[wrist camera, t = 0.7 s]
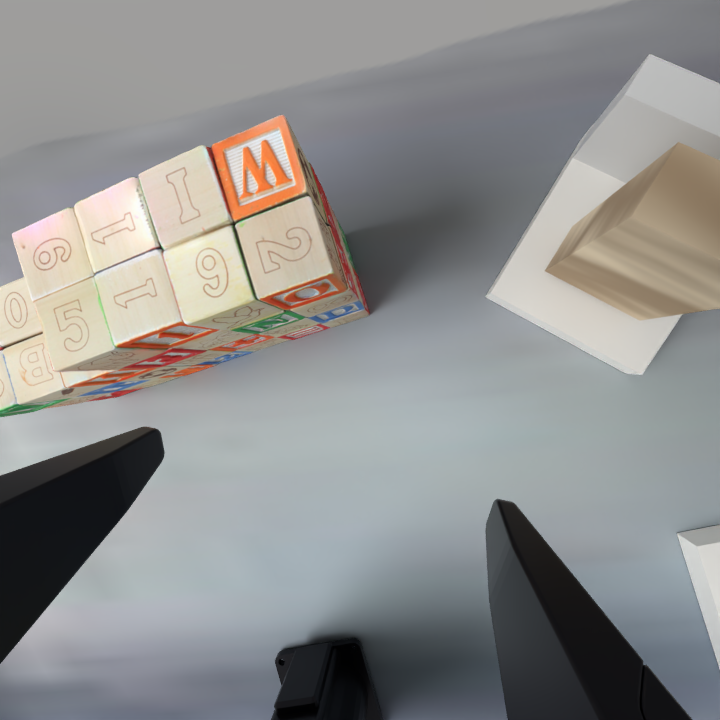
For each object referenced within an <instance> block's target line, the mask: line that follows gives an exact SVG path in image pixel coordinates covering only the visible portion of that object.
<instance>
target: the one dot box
mask: <svg viewBox="0 0 720 720" xmlns="http://www.w3.org/2000/svg"><path fill="white" fill-rule="evenodd" d="M677 536H678V539H679V542H680V545H681V548H682V551H683V555H684V558H685V561H686V564H687V567H688V570H689V574H690V577H691V580H692V583H693V586H694V589H695V592H696V596H697V599H698V602H699V605H700V608H701V611H702V615H703V618H704V621H705V624H706V627H707V630H708V634H709V637H710V640H711V643H712V646H713V649H714V653H715V656H716V659H717V662H718V665H719V668H720V525H716V526H711V527H706V528H701V529H695V530H690V531H685V532H680V533H677Z"/></svg>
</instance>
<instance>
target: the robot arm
mask: <svg viewBox="0 0 720 720" xmlns="http://www.w3.org/2000/svg"><path fill="white" fill-rule="evenodd" d="M163 458H164V447H163V442H162V437H161V433H160V431H159V430H158V429H155V428H150V427H140V428H138V429H135V430H132V431H129V432H126V433H123V434H120V435H117V436H114V437H111V438H109V439H106V440H103V441H100V442H97V443H94V444H91V445H88V446H85V447H82V448H79V449H77V450H74V451H71V452H68V453H65V454H62V455H59V456H56V457H53V458H50V459H48V460H45V461H42V462H39V463H36V464H33V465H30V466H27V467H24V468H21V469H18V470H16V471H13V472H10V473H7V474H4V475H1V476H0V664H1V662H2V661H3V660H4V659H5V658H6V656H7V655H8V654H9V653H10V652H11V650H12V649H13V648H14V647H15V646H16V644H17V643H18V642H19V641H20V640H21V638H22V637H23V636H24V635H25V634H26V632H27V631H28V630H29V629H30V628H31V626H32V625H33V624H34V623H35V622H36V620H37V619H38V618H39V617H40V616H41V614H42V613H43V612H44V611H45V610H46V608H47V607H48V606H49V605H50V604H51V602H52V601H53V600H54V599H55V598H56V596H57V595H58V594H59V593H60V592H61V590H62V589H63V588H64V587H65V586H66V584H67V583H68V582H69V581H70V579H71V578H72V577H73V576H74V575H75V573H76V572H77V571H78V570H79V569H80V567H81V566H82V565H83V564H84V563H85V561H86V560H87V559H88V558H89V557H90V555H91V554H92V553H93V552H94V551H95V549H96V548H97V547H98V546H99V545H100V543H101V542H102V541H103V540H104V539H105V537H106V536H107V535H108V534H109V533H110V531H111V530H112V529H113V528H114V527H115V525H116V524H117V523H118V522H119V521H120V519H121V518H122V517H123V516H124V514H125V513H126V512H127V511H128V509H129V508H130V507H131V505H132V504H133V502H134V501H135V500H136V498H137V497H138V495H139V494H140V492H141V491H142V489H143V488H144V487H145V485H146V484H147V482H148V481H149V479H150V478H151V477H152V475H153V474H154V472H155V471H156V469H157V468H158V466H159V465H160V464H161V462H162V460H163ZM486 550H487V569H488V589H489V602H490V609H491V616H492V622H493V629H494V635H495V641H496V648H497V654H498V661H499V667H500V673H501V680H502V686H503V692H504V699H505V705H506V711H507V718H508V720H692V719H691V717H690V716H689V715H688V714H687V713H686V711H685V710H684V709H683V708H682V707H681V706H680V704H679V703H678V702H677V701H676V700H675V698H674V697H673V696H672V695H671V694H670V692H669V691H668V690H667V689H666V688H665V686H664V685H663V684H662V683H661V682H660V680H659V679H658V678H657V677H656V675H655V674H654V673H653V672H652V671H651V669H650V668H649V667H648V666H647V665H643V660H642V659H641V657H640V656H639V655H638V654H637V652H636V651H635V650H634V649H633V648H632V646H631V645H630V644H629V643H628V641H627V640H626V639H625V638H624V637H623V635H622V634H621V633H620V632H619V630H618V629H617V628H616V627H615V626H614V624H613V623H612V622H611V621H610V619H609V618H608V617H607V616H606V615H605V613H604V612H603V611H602V610H601V608H600V607H599V606H598V605H597V604H596V602H595V601H594V600H593V599H592V597H591V596H590V595H589V594H588V593H587V591H586V590H585V589H584V588H583V586H582V585H581V584H580V583H579V581H578V580H577V579H576V578H575V577H574V575H573V574H572V573H571V572H570V570H569V569H568V568H567V567H566V566H565V564H564V563H563V562H562V561H561V559H560V558H559V557H558V556H557V555H556V553H555V552H554V551H553V550H552V548H551V547H550V546H549V545H548V544H547V542H546V541H545V540H544V539H543V537H542V536H541V535H540V534H539V533H538V531H537V530H536V529H535V528H534V526H533V525H532V524H531V523H530V522H529V520H528V519H527V518H526V517H525V515H524V514H523V513H522V512H521V511H520V509H519V508H518V507H517V506H516V505H515V504H514V503H513V502H510V501H505V500H501V499H496V500H495V501H494V503H493V505H492V508H491V511H490V514H489V517H488V520H487V523H486ZM352 646H355V647H356V649H354V648H352ZM281 659H283V660H284V661H283V660H281ZM275 664H276V667H277V671H278V674H279V678H280V682H281V685H282V686H281V689H280V692H279V694H278V697H277V699H276V702H275V705H274V707H275V710H274V713H273V716H272V718H271V720H383V718H382V714H381V711H380V707H379V704H378V700H377V697H376V693H375V690H374V686H373V683H372V679H371V676H370V672H369V669H368V665H367V662H366V658H365V655H364V651H363V648H362V644H361V642H360V641H359V640H358V639H356V638H351V639H345V640H340V641H334V642H328V643H322V644H316V645H311V646H305V647H299V648H295V649H289V650H283V651H280V652H279V653H278V655H277V657H276V660H275Z"/></svg>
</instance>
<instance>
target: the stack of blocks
mask: <svg viewBox="0 0 720 720" xmlns="http://www.w3.org/2000/svg"><path fill="white" fill-rule="evenodd" d="M12 237H13V241H14V244H15V248H16V251H17V254H18V257H19V261H20V264H21V267H22V271H23V274H24V277H23V278H21V279H18V280H16V281H13V282H11V283H8V284H6V285H4V286H1V287H0V417H4V416H11V415H17V414H24V413H30V412H34V411H37V410H40V409H44V408H52V407H59V406H66V405H72V404H78V403H83V402H87V401H94V400H103V399H108V398H114V397H119V396H122V395H124V394H127V393H130V392H133V391H136V390H139V389H142V388H146V387H151V386H154V385H157V384H160V383H164V382H167V381H170V380H173V379H176V378H179V377H181V376H185V375H188V374H191V373H194V372H197V371H200V370H203V369H206V368H209V367H213V366H216V365H217V364H218V363H221V362H225V361H228V360H231V359H234V358H237V357H240V356H243V355H246V354H249V353H252V352H254V351H257V350H261V349H264V348H267V347H270V346H273V345H276V344H279V343H282V342H285V341H288V340H294V339H297V338H300V337H303V336H306V335H309V334H312V333H316V332H319V331H322V330H325V329H328V328H331V327H335V326H338V325H342V324H345V323H348V322H351V321H354V320H357V319H360V318H363V317H367V316H369V315H370V313H369V310H368V306H367V303H366V300H365V297H364V293H363V290H362V287H361V284H360V281H359V277H358V275H357V273H356V270H355V267H354V264H353V260H352V257H351V254H350V250H349V247H348V244H347V241H346V237H345V234H344V232H343V230H342V228H341V226H340V224H339V222H338V220H337V219H336V217H335V215H334V212H333V210H332V208H331V206H330V204H329V202H328V200H327V198H326V196H325V193H324V191H323V188H322V186H321V184H320V183H319V181H318V178H317V176H316V174H315V172H314V169H313V168H312V166H311V164H310V163H309V162H308V161H307V159H306V157H305V155H304V153H303V151H302V149H301V147H300V145H299V143H298V141H297V139H296V137H295V135H294V133H293V131H292V129H291V127H290V125H289V123H288V121H287V119H286V117H285V115H283V114H282V115H280V116H277V117H275V118H273V119H270V120H268V121H266V122H263V123H261V124H259V125H257V126H255V127H252V128H250V129H248V130H246V131H243V132H240V133H238V134H235V135H233V136H231V137H229V138H227V139H225V140H222V141H220V142H218V143H215V144H213V145H212V147H211V148H209V147H207V146H204V145H200V146H198V147H196V148H194V149H192V150H190V151H187V152H185V153H182V154H180V155H178V156H176V157H174V158H172V159H170V160H168V161H165V162H163V163H161V164H159V165H157V166H155V167H152V168H150V169H148V170H146V171H144V172H142V173H141V174H139V178H137V177H130V178H128V179H126V180H124V181H121V182H119V183H117V184H115V185H113V186H111V187H109V188H107V189H104V190H102V191H100V192H98V193H96V194H94V195H92V196H90V197H87V198H85V199H83V200H80V201H78V202H77V203H76V204H75V206H74V207H72V208H66V209H64V210H61V211H59V212H57V213H55V214H53V215H51V216H49V217H46V218H44V219H42V220H40V221H38V222H35V223H33V224H31V225H29V226H27V227H25V228H23V229H21V230H19V231H16V232H14V233H13V234H12Z"/></svg>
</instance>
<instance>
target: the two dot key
mask: <svg viewBox="0 0 720 720" xmlns="http://www.w3.org/2000/svg"><path fill="white" fill-rule="evenodd" d="M545 272H547V273H549V274H551V275H553V276H555V277H557V278H559V279H561V280H563V281H565V282H567V283H568V284H570V285H572V286H574V287H576V288H578V289H580V290H582V291H584V292H586V293H588V294H590V295H591V296H593V297H595V298H597V299H599V300H601V301H603V302H605V303H607V304H609V305H611V306H613V307H614V308H616V309H618V310H620V311H622V312H624V313H626V314H628V315H630V316H632V317H634V318H636V319H638V320H639V321H641V320H647V319H654V318H660V317H667V316H673V315H680V314H686V313H693V312H700V311H706V310H713V309H719V308H720V160H718V159H715V158H713V157H711V156H709V155H707V154H704V153H702V152H700V151H698V150H695V149H693V148H691V147H689V146H687V145H684V144H682V143H680V142H678V143H677V144H675V145H674V146H673V147H672V148H670V149H669V150H668V151H667V152H665V153H664V154H663V155H662V156H660V157H659V158H658V159H656V160H655V161H654V162H653V163H651V164H650V165H649V166H648V167H646V168H645V169H644V170H643V171H641V172H640V173H639V174H638V175H636V176H635V177H634V178H633V179H631V180H630V181H629V182H627V183H626V184H625V185H624V186H622V187H621V188H620V189H619V190H617V191H616V192H615V193H614V194H612V195H611V196H610V197H609V198H607V199H606V200H605V201H604V202H602V203H601V204H600V205H598V206H597V207H596V208H595V209H593V210H592V211H591V212H590V213H588V214H587V215H586V216H585V217H583V218H582V219H581V220H580V221H578V222H577V223H576V224H575V225H573V226H572V228H571V229H570V231H569V232H568V234H567V236H566V237H565V239H564V241H563V242H562V244H561V245H560V247H559V249H558V250H557V252H556V253H555V255H554V257H553V258H552V260H551V261H550V263H549V265H548V266H547V268H546V270H545Z"/></svg>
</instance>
